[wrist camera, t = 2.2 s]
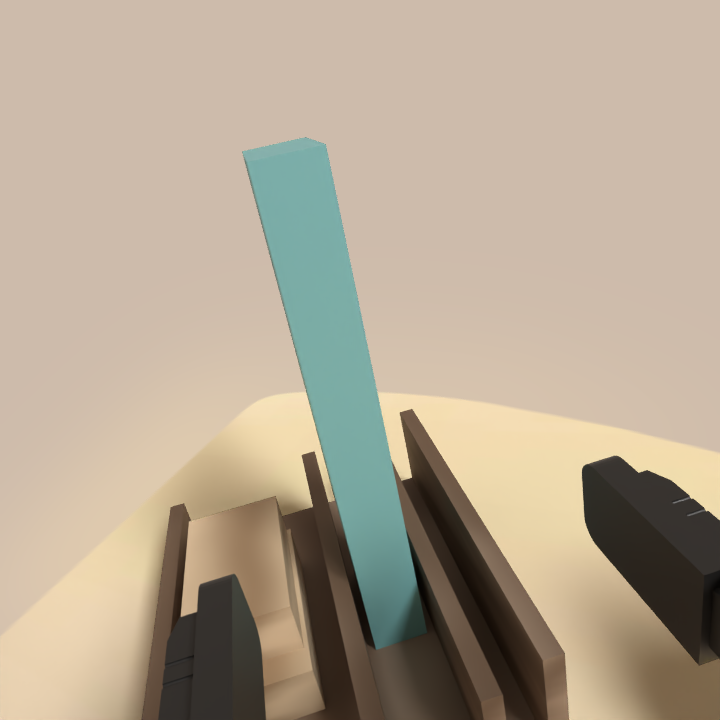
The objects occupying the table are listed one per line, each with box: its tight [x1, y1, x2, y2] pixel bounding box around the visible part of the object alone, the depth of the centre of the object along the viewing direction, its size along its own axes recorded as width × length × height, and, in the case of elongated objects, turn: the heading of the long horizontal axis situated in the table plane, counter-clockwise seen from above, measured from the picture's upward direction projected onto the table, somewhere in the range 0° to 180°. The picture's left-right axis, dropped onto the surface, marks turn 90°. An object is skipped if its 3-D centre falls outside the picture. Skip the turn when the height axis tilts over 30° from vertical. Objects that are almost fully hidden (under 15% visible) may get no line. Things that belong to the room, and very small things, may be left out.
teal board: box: [242, 137, 427, 650], centre depth 25 cm, size 2×5×22 cm, turn 12°
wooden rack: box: [142, 409, 569, 720], centre depth 29 cm, size 16×18×6 cm
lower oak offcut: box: [262, 529, 326, 720], centre depth 28 cm, size 5×9×2 cm, turn 12°
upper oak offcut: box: [181, 496, 304, 661], centre depth 28 cm, size 5×8×2 cm, turn 12°
